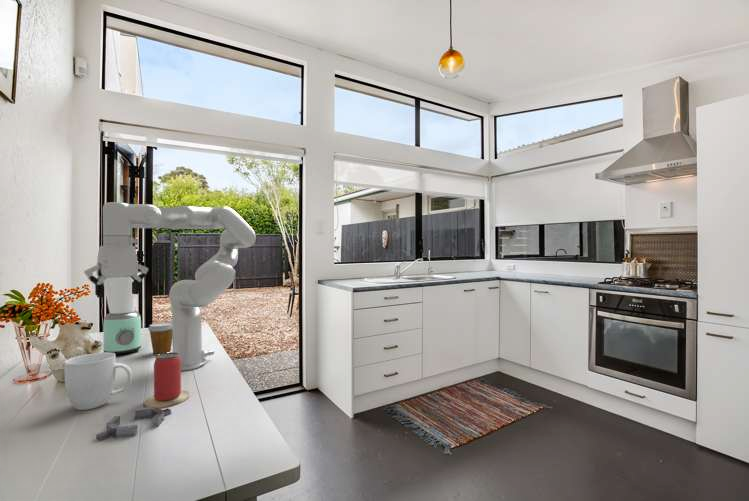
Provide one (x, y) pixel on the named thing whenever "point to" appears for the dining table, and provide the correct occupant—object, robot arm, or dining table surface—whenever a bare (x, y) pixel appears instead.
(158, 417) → the collar
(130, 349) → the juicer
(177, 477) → the dining table surface
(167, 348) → the disposable coffee cup
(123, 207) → the robot arm
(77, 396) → the mug
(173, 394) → the beer can
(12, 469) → the dining table surface
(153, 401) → the disc
